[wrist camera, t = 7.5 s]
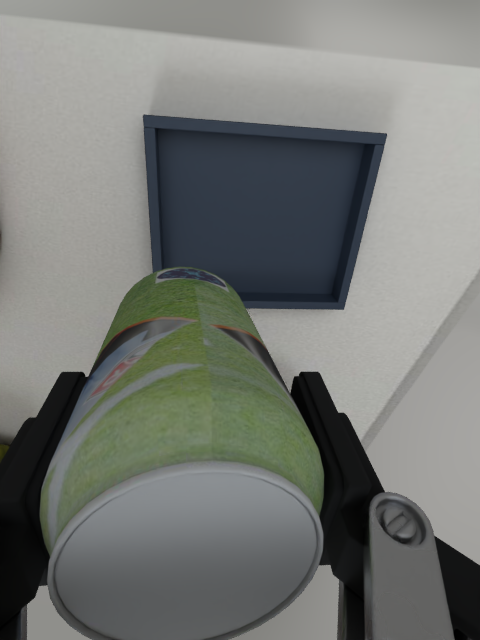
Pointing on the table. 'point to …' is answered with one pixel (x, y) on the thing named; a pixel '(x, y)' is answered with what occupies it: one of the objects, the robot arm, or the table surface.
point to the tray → (261, 205)
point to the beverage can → (181, 475)
